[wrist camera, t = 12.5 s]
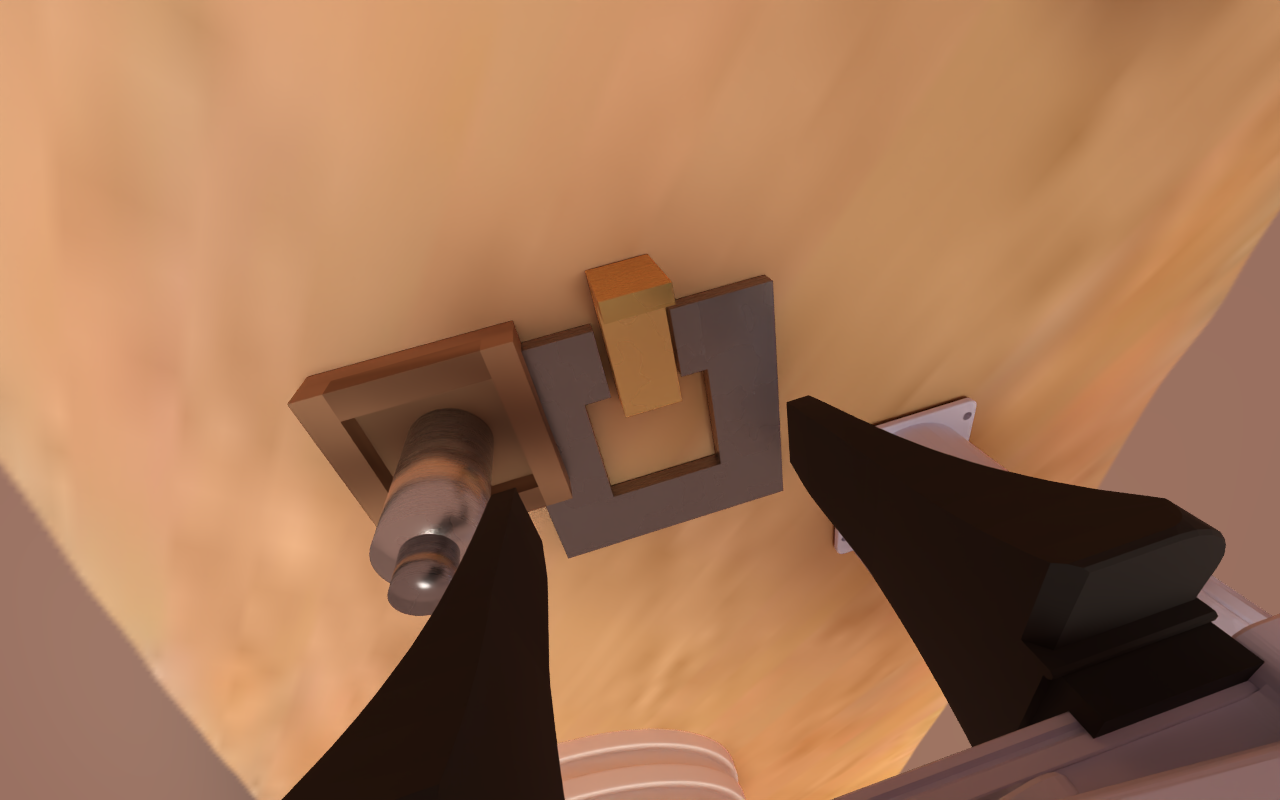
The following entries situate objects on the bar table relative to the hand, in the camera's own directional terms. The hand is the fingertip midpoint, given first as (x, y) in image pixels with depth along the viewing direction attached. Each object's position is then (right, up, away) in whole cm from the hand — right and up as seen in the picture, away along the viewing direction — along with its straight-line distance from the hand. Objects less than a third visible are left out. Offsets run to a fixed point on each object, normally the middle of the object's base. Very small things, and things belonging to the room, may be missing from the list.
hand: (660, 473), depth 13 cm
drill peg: (-8, 0, +8) cm, 11 cm away
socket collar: (0, +1, +11) cm, 11 cm away
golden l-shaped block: (-1, +5, +8) cm, 9 cm away
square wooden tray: (-9, +1, +9) cm, 12 cm away
